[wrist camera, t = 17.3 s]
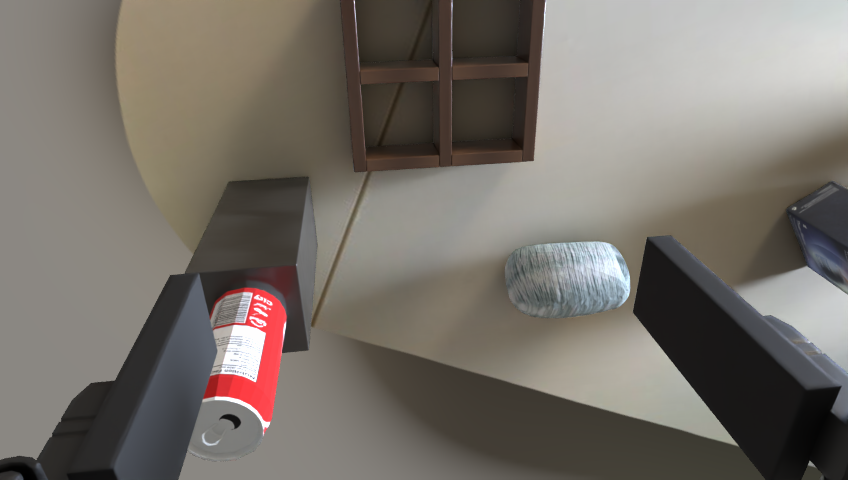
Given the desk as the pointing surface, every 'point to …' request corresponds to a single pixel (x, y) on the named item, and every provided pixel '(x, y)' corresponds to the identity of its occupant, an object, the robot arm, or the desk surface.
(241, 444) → the soda can
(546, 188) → the desk surface
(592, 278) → the yarn skein
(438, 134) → the can rack
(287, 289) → the block
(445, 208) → the desk surface
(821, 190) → the small box
